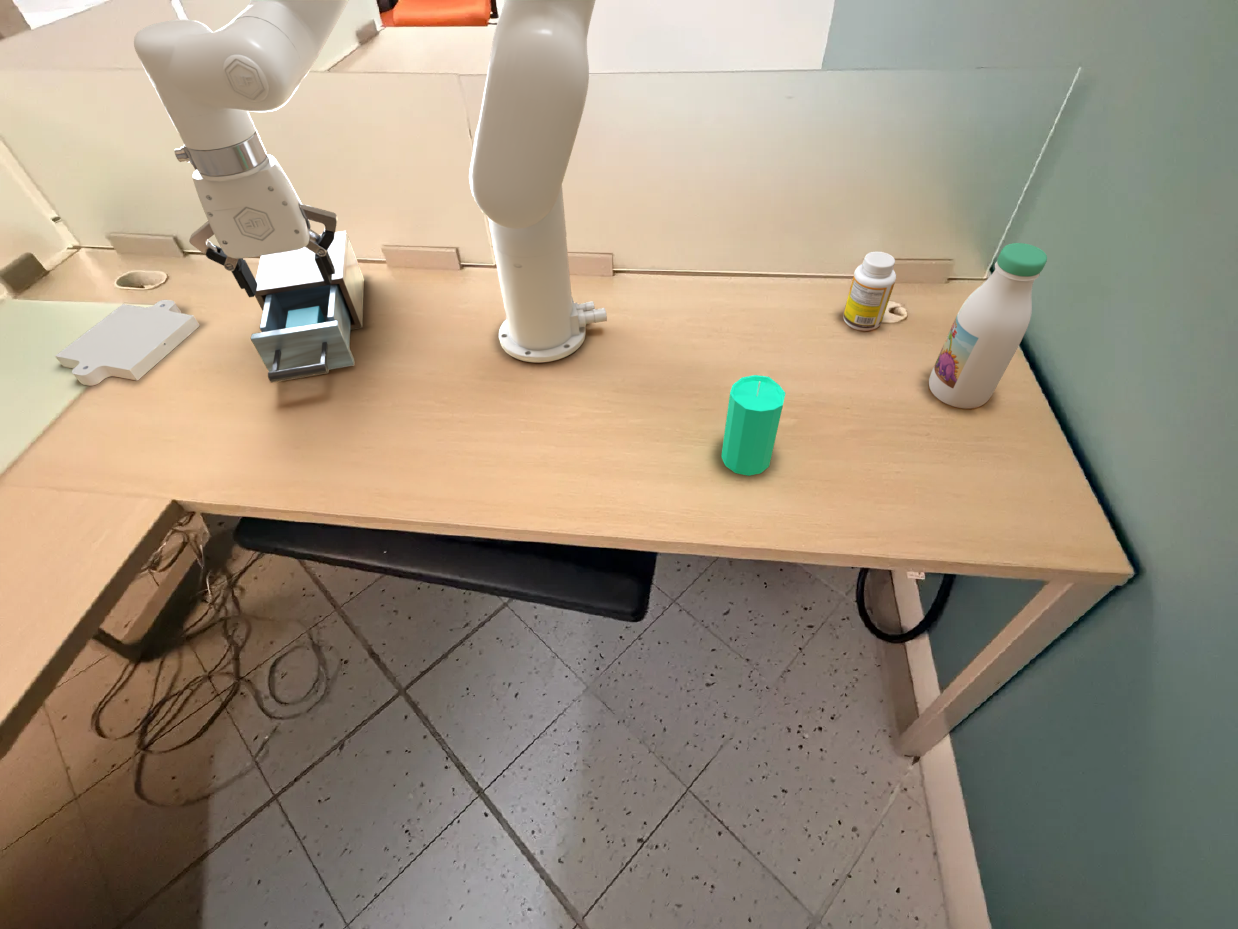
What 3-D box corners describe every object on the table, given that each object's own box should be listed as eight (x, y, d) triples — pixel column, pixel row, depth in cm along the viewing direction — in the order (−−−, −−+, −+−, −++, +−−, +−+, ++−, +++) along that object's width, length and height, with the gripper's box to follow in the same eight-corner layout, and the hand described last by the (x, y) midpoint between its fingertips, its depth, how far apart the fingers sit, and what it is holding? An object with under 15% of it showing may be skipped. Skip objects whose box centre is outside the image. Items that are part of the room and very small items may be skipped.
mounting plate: (124, 392, 89) (115, 381, 88) (49, 377, 92) (39, 367, 90) (210, 316, 101) (204, 305, 99) (142, 304, 103) (135, 294, 102)
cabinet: (362, 328, 98) (342, 278, 91) (278, 341, 96) (252, 291, 90) (364, 279, 107) (346, 230, 100) (287, 290, 105) (263, 241, 98)
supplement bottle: (864, 306, 98) (883, 244, 91) (889, 326, 95) (910, 263, 87) (834, 315, 97) (850, 253, 89) (857, 336, 93) (876, 273, 86)
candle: (739, 482, 76) (752, 408, 67) (711, 449, 80) (720, 374, 71) (781, 464, 78) (799, 389, 69) (752, 432, 81) (766, 357, 72)
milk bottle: (991, 379, 87) (1065, 242, 72) (987, 417, 82) (1064, 278, 67) (931, 365, 89) (990, 228, 74) (923, 400, 84) (984, 262, 69)
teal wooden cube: (329, 330, 94) (319, 305, 91) (328, 347, 92) (317, 323, 88) (299, 334, 94) (287, 310, 91) (297, 352, 91) (285, 328, 88)
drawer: (353, 393, 87) (335, 352, 82) (267, 407, 85) (244, 367, 80) (356, 313, 99) (341, 274, 94) (281, 325, 97) (262, 286, 92)
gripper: (138, 179, 70) (218, 312, 83) (305, 156, 72) (358, 289, 85) (154, 150, 75) (227, 280, 87) (310, 129, 77) (359, 259, 90)
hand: (291, 285), depth 86 cm, fingers open, 9 cm apart
